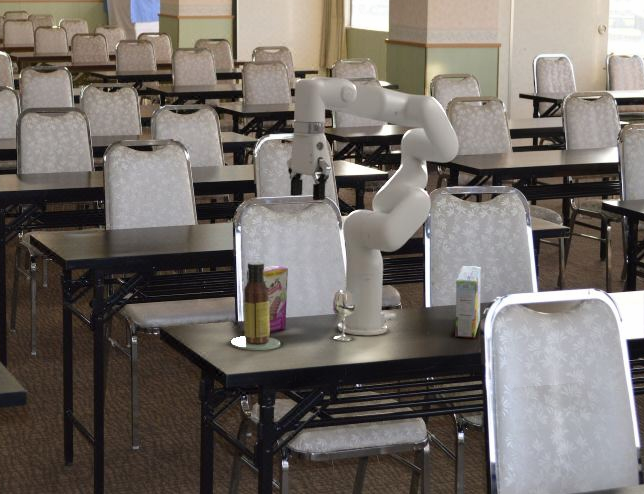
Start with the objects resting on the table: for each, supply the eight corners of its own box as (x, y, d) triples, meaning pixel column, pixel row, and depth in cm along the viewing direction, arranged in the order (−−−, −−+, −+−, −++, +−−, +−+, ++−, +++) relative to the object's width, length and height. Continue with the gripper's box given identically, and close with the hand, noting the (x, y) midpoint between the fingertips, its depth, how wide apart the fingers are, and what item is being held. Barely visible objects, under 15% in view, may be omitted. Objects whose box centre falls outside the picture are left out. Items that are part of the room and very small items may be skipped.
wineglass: (357, 337, 315) (358, 291, 314) (350, 342, 310) (351, 295, 309) (335, 334, 318) (337, 289, 316) (328, 339, 312) (329, 293, 311)
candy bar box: (258, 335, 315) (259, 272, 313) (244, 332, 319) (245, 269, 317) (287, 329, 323) (288, 267, 321) (272, 325, 327) (274, 264, 325)
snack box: (459, 319, 338) (461, 265, 336) (480, 321, 336) (482, 266, 334) (453, 337, 317) (455, 279, 315) (475, 338, 316) (478, 280, 314)
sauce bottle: (271, 339, 309) (273, 261, 306) (267, 345, 303) (269, 265, 300) (245, 338, 310) (246, 260, 308) (241, 343, 304) (242, 264, 302)
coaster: (263, 336, 315) (263, 334, 315) (289, 346, 304) (289, 344, 304) (222, 341, 309) (222, 339, 309) (248, 352, 298) (248, 349, 298)
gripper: (342, 131, 299) (340, 201, 301) (301, 126, 314) (300, 192, 316) (317, 131, 296) (315, 202, 298) (277, 126, 311) (275, 194, 313)
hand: (307, 197), depth 307 cm, fingers open, 9 cm apart
